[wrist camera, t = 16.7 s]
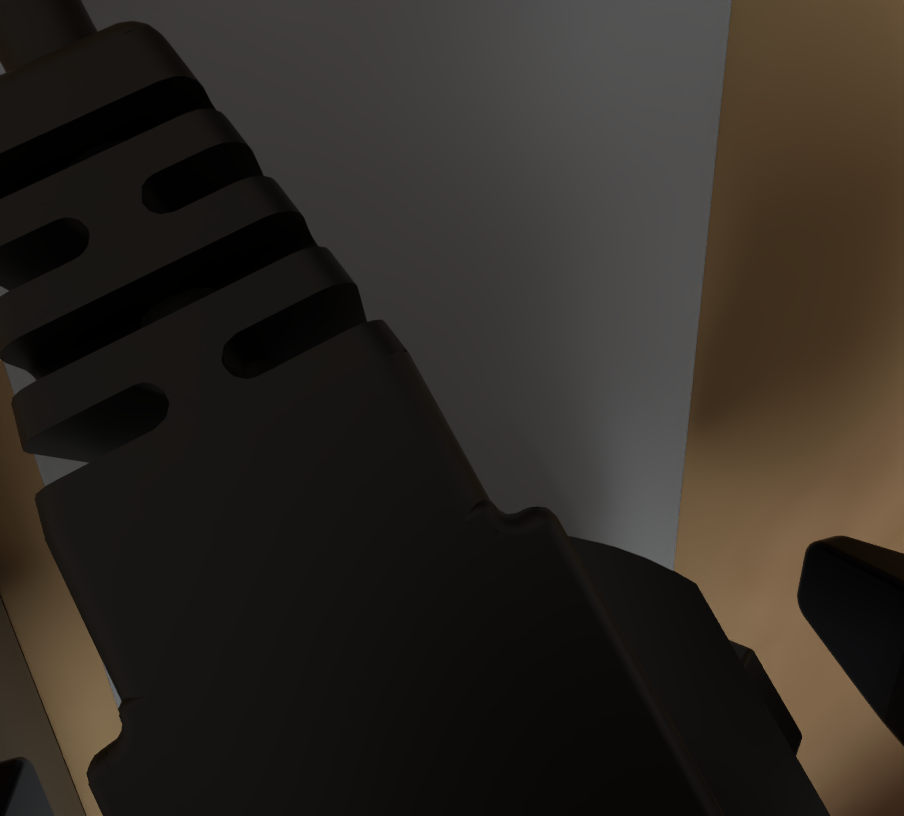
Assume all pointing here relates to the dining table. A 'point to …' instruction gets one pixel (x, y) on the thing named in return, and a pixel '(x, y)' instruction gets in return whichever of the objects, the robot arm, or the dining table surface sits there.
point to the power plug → (312, 505)
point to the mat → (498, 215)
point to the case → (30, 726)
